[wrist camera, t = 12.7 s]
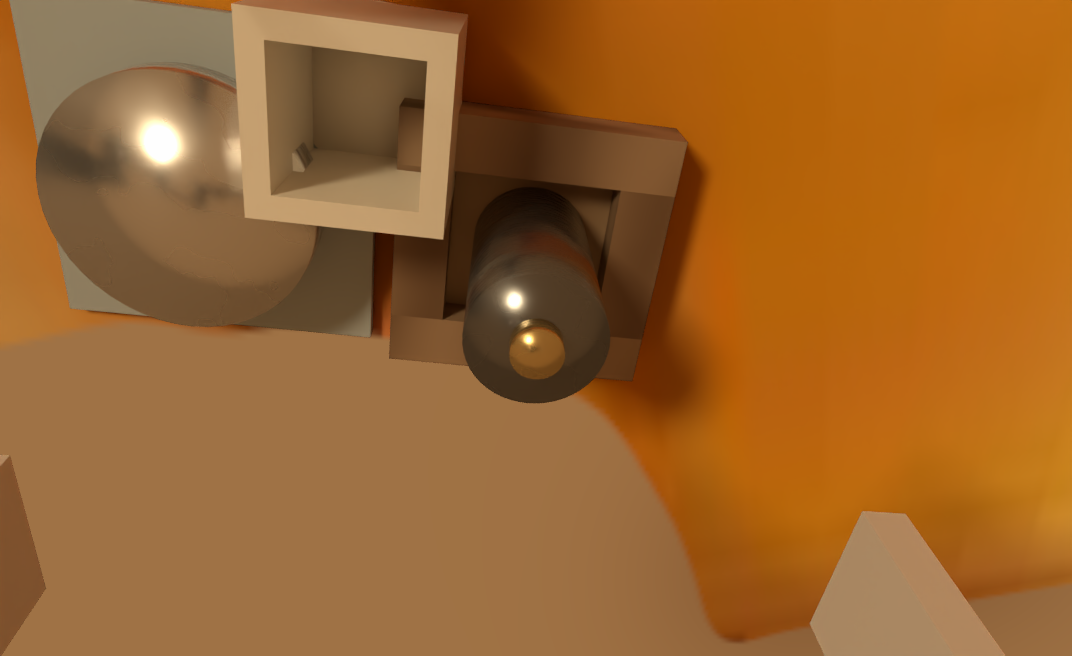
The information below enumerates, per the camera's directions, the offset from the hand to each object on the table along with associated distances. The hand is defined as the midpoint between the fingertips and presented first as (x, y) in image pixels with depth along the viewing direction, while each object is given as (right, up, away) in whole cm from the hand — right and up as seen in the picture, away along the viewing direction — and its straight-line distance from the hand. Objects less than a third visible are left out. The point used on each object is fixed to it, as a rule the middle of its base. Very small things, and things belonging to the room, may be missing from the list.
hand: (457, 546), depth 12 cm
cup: (-4, +12, +14) cm, 19 cm away
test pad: (-11, +8, +14) cm, 20 cm away
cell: (+1, +7, +17) cm, 18 cm away
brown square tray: (+1, +7, +17) cm, 19 cm away
